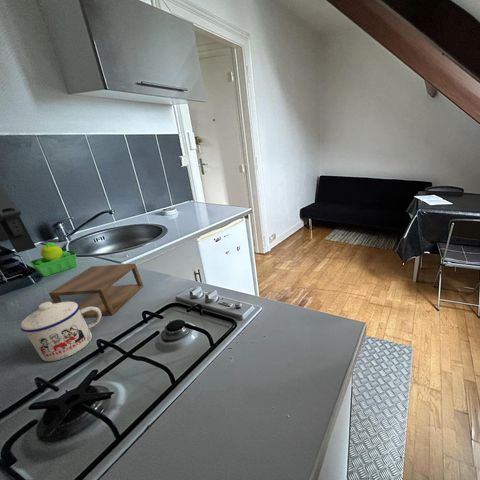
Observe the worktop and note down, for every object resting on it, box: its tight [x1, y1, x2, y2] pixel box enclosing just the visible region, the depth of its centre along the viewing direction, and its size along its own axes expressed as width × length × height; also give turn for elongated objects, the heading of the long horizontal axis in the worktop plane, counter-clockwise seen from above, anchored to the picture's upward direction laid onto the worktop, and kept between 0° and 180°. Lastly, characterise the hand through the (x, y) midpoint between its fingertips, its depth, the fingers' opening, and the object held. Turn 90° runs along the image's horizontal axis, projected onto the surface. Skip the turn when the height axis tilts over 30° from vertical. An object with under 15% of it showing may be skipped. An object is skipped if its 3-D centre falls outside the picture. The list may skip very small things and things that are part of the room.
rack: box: [48, 263, 144, 318], centre depth 73 cm, size 13×14×8 cm
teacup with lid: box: [20, 301, 102, 362], centre depth 57 cm, size 12×9×12 cm
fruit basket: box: [29, 242, 77, 278], centre depth 93 cm, size 11×9×11 cm
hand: (17, 244), depth 55 cm, fingers open, 13 cm apart
